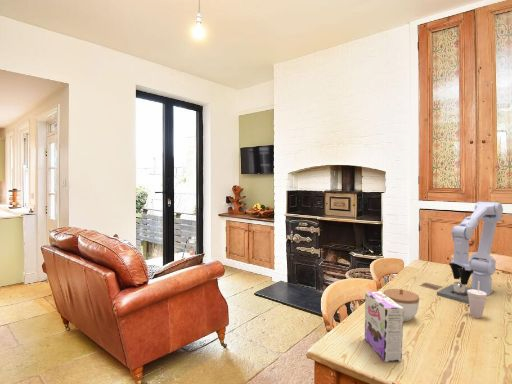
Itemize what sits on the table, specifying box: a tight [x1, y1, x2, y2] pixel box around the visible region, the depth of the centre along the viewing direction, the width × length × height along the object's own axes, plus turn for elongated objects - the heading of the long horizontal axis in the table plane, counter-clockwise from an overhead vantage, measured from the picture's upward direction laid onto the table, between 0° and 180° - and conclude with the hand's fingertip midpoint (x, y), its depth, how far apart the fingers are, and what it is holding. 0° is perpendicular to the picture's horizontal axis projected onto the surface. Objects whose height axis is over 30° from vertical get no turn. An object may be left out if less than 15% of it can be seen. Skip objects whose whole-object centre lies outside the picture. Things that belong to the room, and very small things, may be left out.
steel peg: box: [453, 281, 466, 296], centre depth 142 cm, size 4×4×7 cm
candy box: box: [364, 290, 404, 363], centre depth 98 cm, size 14×6×16 cm, turn 5°
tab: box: [418, 282, 443, 291], centre depth 155 cm, size 8×8×1 cm
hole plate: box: [436, 283, 487, 307], centre depth 143 cm, size 18×14×3 cm
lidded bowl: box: [383, 288, 420, 322], centre depth 122 cm, size 13×13×11 cm
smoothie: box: [467, 281, 488, 319], centre depth 123 cm, size 6×6×14 cm
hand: (460, 281), depth 142 cm, fingers open, 7 cm apart
